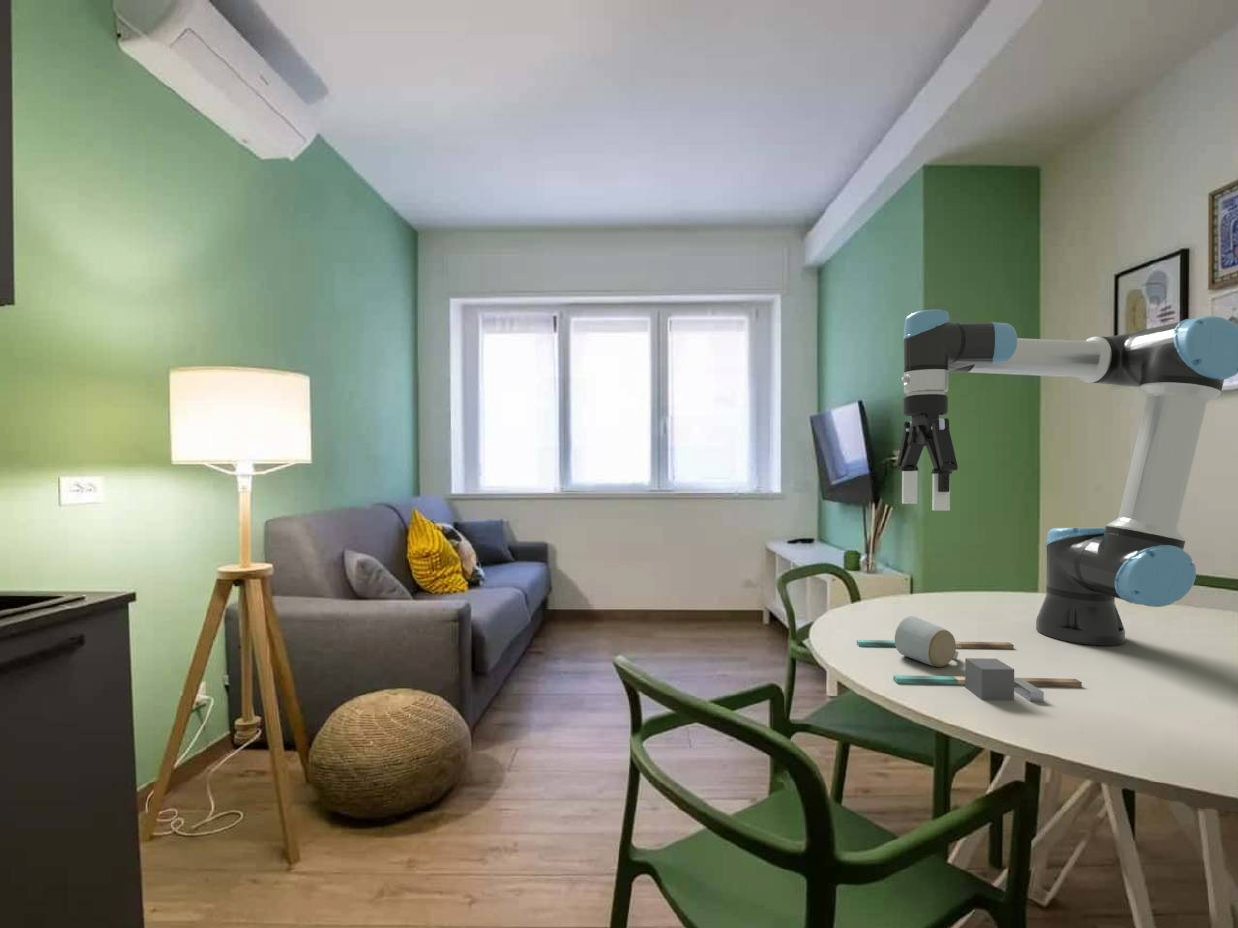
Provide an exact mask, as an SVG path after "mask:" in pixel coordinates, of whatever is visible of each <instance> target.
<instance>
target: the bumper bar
mask: <svg viewBox="0 0 1238 928" xmlns="http://www.w3.org/2000/svg"><path fill="white" fill-rule="evenodd" d="M1022 678H1023V677H1014V692H1016V693H1017V694H1019V695H1020V696H1022V697H1023V698H1024V699H1026V700H1028V701H1029V702H1035V703H1036V702H1040V703H1044V699H1045V698H1044V697H1045V696H1044V695H1045V694H1044V693H1045V692H1044V691H1043V690H1041V689H1040V688H1038V687H1037V686H1033V685H1032V684H1030V683H1028V682H1027V681H1025V680H1024V679H1022Z"/></svg>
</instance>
